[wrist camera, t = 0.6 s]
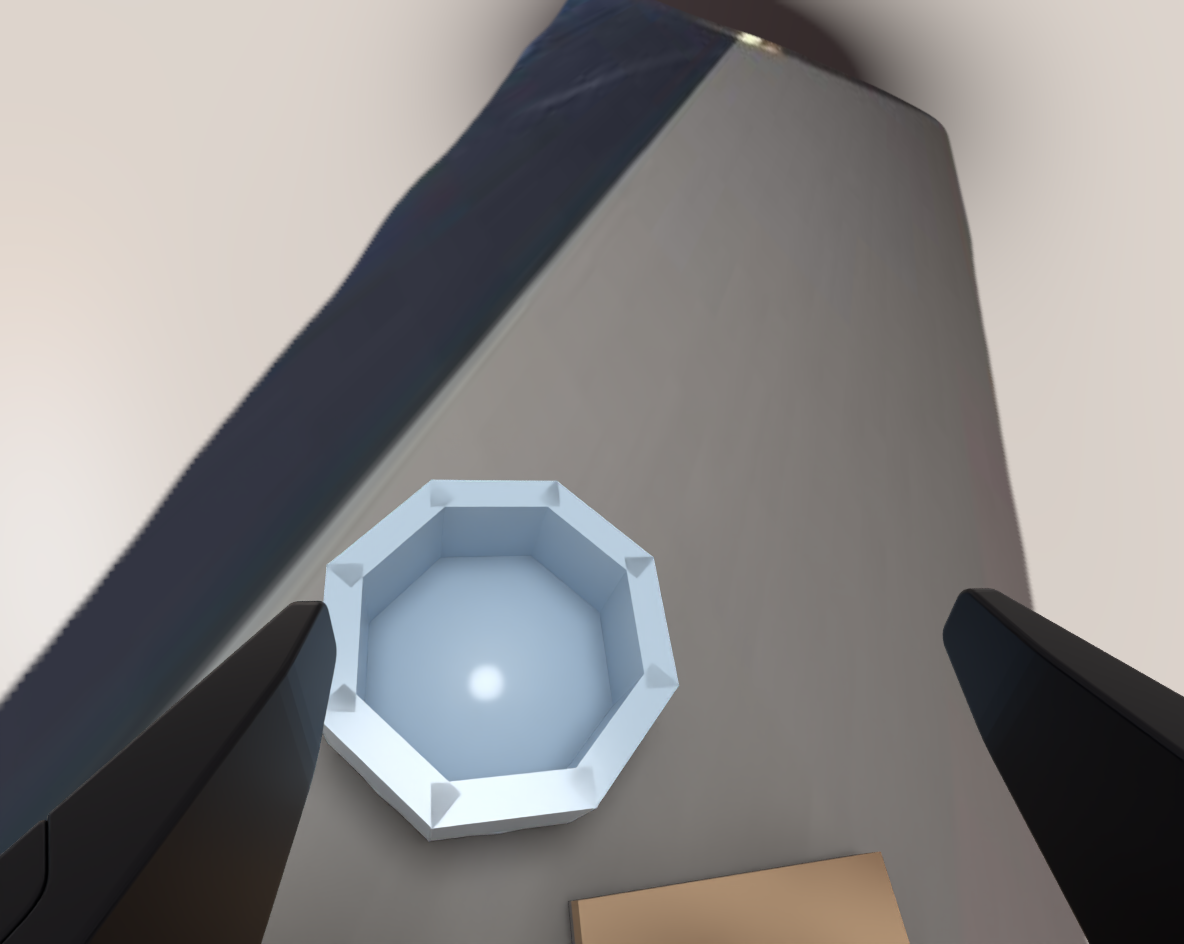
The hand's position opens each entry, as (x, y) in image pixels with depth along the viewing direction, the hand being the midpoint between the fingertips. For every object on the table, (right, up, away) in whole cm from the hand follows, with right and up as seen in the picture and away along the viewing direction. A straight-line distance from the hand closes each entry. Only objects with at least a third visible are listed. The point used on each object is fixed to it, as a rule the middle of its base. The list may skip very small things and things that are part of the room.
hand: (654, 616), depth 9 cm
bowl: (-4, -5, +13) cm, 15 cm away
